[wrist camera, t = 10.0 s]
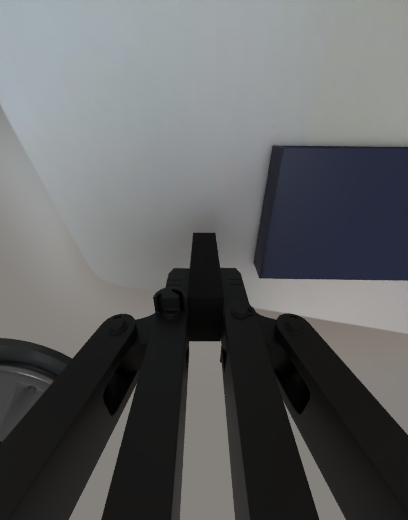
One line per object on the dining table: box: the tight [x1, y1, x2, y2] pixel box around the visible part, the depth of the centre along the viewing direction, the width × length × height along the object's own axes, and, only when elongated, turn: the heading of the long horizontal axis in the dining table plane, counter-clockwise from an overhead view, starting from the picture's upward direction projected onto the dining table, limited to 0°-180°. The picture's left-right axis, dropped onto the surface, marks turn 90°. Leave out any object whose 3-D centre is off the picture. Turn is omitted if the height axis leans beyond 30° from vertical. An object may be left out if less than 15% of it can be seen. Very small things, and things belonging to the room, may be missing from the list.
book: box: [254, 146, 408, 280], centre depth 19 cm, size 16×12×3 cm
